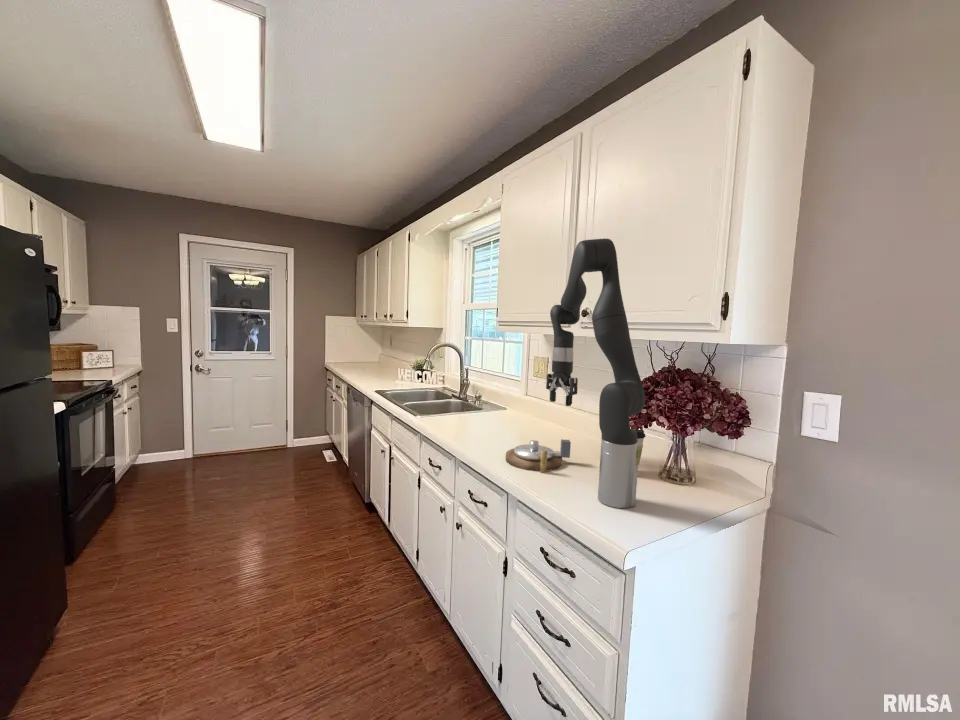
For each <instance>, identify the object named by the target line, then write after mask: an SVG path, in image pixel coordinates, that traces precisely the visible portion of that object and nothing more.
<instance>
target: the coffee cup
mask: <svg viewBox="0 0 960 720" xmlns="http://www.w3.org/2000/svg"><path fill="white" fill-rule="evenodd" d="M634 431H636V433H637V449H636V464H635V470H636V471H637V472H638V471H639V470H638V469H639V465H640V463H641V458H642V452H643V447H644V439H645V438H646V434H645V430H644V429H643V430H634Z"/></svg>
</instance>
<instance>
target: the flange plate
mask: <svg viewBox="0 0 960 720" xmlns="http://www.w3.org/2000/svg"><path fill="white" fill-rule="evenodd" d="M571 443H572V442H571V441H570V439H560V450H559V451H557V450H556V451H555V450H553V449H552V448H551V447H548V446H544V445H539V444H540V443H539V441H538V440H533V439H531V440H530V442H529V444H521V445H517V446H515V447H514V448H513V449H514V454H515V455H516V456H517V457H519V458H522V459H525V460H531V461H541V451H542V450H545V451H547V460H550V459H552V458H553V457H554V456H561V457H562V459H563V458H565V459H570V457H571Z"/></svg>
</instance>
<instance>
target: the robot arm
mask: <svg viewBox="0 0 960 720" xmlns="http://www.w3.org/2000/svg"><path fill="white" fill-rule="evenodd" d="M576 244H577V245H576V246H575V248H574V251H573V254H572V259H571V263H570V268H569V274H568V279H567V283H566V287H565V290H564V292H563V294H562V297H561V298H560V304H555V305H553V306H552V307H551V309H550V312H549V313H550V314H549V316H550V322H551V326H552V330H553V350H552V356H551V357H552V359H551V372H552V373H547V375H546V385H545V388H546V390H548V391H549V401H550V402H552V403H555V402H556V401H557V390H558V389H559V388H561V389H562V390H563V391H564V392H565V405H564V406H566V407H571V406H572V404H573V396H575V395H578V377H572V376H571V375H572V373H573V370H574V339H575V336H574V332H572V331H569V330H565V329H564V328H563V327H562V326H561V325H576V324H577V323H578V322H579V320H580V317H581V313H580V312H581V311H580V310H581V307H582V304H583V302H584V300H585V298H586V296H587V286H586V283H585V281H584V279H583V277H582V276H583V275H584V274H585V273H594V272H595V273H596V272H601V276H602V288H601V290H600V291H601V292H600V294H599V295H598V296H599V297H598V299H597V300H596V301H597V302H596V303H595V305H594V308H593V311H592V314H591V321H592V327H593V333H594V337H595V340H596V342H597V345H598V347H599V348H600V350H601V352H602V353H603V354H604V356H605V357H606V359H607V360H608V361H609V362H608V363H610V366H611V369H612V373H613V377H614V382H611V383H608V384H606V385H605V386H603V388H602V389H601V391H600V395H599V405H598V406H599V408H598V411H599V412H598V413H599V414H598V415H599V416H598V417H599V419H598V420H599V421H598V422H599V423H598V425H599V429H600V433H601V443H600V457H599V473H598V490H597V500H598V501H599V502H600V503H601V504H604V505H605V506H608V507H612V508H618V509H625V508H626V509H627V508H631V507H636V501H637V499H636V498H637V489H638V488H637V485H638V484H637V483H638V471H636V470H635V464H636V449H637V433H636V431H634V430H633V429H630V427H629V426H630V416H632V415H633V416H634V415H638V414H640V413H642V411H643V409H644V408H645V405H646V393H645V389H644V386H643V383H642V380H641V376H640V374H639V370H638V367H637V363H636V359H635V355H634V350H633V345H632V340H631V335H630V328H629V323H628V319H627V315H626V309H625V305H624V300H623V296H622V290H621V284H620V273H619V264H618V256H617V250H616V247H615V244H614V242H613V240H612V239H610V238H594V239H592V238H591V239H584V240H581V241H579V242H578V243H576Z"/></svg>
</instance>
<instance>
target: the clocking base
mask: <svg viewBox="0 0 960 720" xmlns="http://www.w3.org/2000/svg"><path fill="white" fill-rule="evenodd" d="M505 462H506V463H507V464H508V463H509V464H508V465H510V466H512V467H514V468H516V469H521V470H527V471H531V470H532V472H540V473H541V474H547V470H549V471H554V470H557V469H559V468H561V467H562V465H563V457H561V456H554V457H553V458H552V459H550V460H547V451H545V450H542V451H541V461H531V460H525V459H522V458H519V457H517V456H516V455H515V454H514V448H511V449H508V450H507V451H506V452H505ZM560 466H561V467H560Z"/></svg>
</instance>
